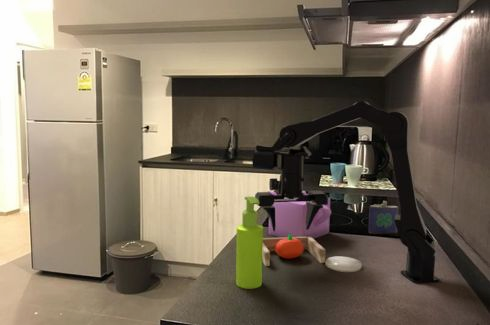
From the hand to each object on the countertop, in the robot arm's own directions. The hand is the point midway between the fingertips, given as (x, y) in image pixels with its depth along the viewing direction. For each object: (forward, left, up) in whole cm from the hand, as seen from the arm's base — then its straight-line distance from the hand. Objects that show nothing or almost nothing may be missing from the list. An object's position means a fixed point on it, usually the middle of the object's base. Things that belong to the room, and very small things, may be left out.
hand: (290, 230), depth 111 cm
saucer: (-8, -12, -8) cm, 16 cm away
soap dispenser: (-16, +14, -8) cm, 23 cm away
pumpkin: (0, 0, -8) cm, 8 cm away
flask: (+18, -37, -8) cm, 42 cm away
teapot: (+22, -9, -8) cm, 25 cm away
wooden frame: (+1, 0, -8) cm, 8 cm away
